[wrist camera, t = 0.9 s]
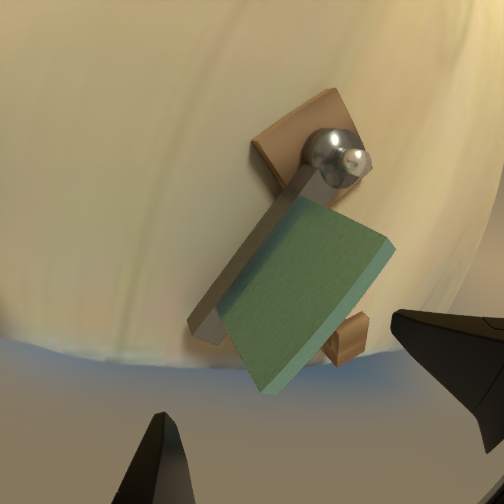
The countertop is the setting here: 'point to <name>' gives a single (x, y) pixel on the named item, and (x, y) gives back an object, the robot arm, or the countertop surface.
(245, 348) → the link
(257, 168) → the countertop surface
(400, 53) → the countertop surface
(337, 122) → the pintle block
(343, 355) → the block
